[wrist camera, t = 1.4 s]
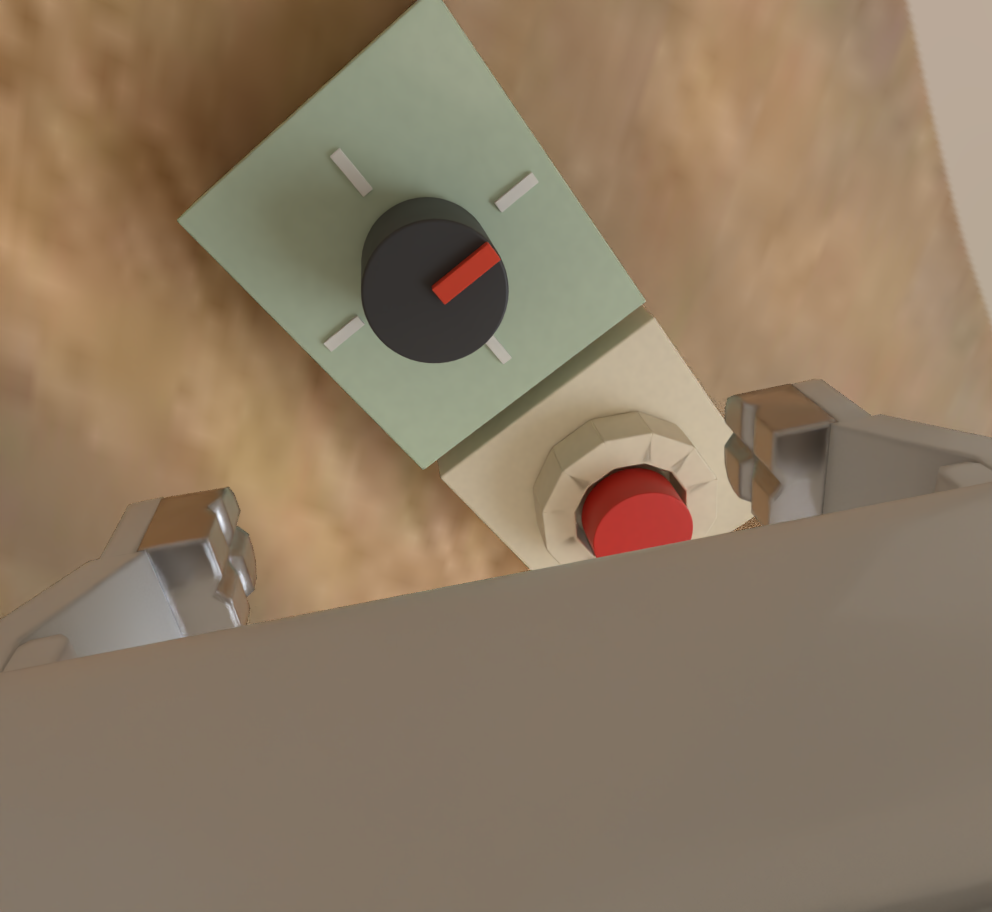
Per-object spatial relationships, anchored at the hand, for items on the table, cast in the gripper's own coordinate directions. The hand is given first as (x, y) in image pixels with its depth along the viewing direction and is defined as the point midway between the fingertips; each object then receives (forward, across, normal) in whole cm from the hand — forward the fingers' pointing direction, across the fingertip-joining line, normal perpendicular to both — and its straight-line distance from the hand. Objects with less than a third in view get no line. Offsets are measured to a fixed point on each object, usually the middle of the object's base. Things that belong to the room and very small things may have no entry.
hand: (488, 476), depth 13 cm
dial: (+13, 0, 0) cm, 13 cm away
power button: (+12, -6, +10) cm, 17 cm away
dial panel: (+16, 0, 0) cm, 16 cm away
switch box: (+16, -6, +10) cm, 19 cm away
